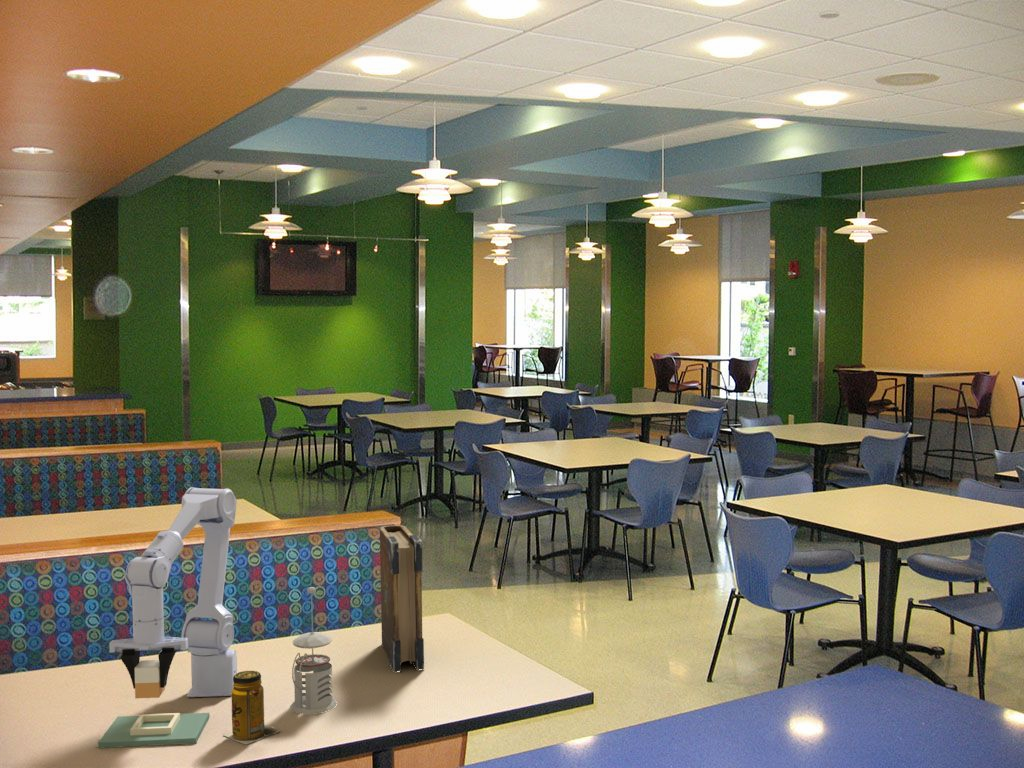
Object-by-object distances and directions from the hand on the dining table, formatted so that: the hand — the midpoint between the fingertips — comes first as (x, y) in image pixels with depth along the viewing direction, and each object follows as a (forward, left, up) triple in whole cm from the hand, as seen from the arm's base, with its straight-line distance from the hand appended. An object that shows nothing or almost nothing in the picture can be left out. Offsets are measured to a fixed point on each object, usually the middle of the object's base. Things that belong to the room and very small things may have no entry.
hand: (150, 686), depth 202 cm
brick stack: (0, 0, -2) cm, 2 cm away
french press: (-30, -8, -9) cm, 33 cm away
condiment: (-20, +5, -9) cm, 23 cm away
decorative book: (-48, -39, -9) cm, 63 cm away
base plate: (-1, +2, -9) cm, 9 cm away
